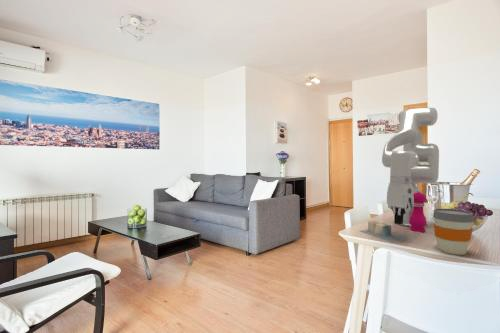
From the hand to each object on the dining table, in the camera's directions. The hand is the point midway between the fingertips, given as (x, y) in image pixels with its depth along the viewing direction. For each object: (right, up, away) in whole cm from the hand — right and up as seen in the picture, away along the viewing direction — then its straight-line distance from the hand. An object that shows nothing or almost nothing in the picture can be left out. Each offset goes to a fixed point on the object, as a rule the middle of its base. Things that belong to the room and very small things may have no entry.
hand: (398, 223), depth 120 cm
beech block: (-2, -4, +6) cm, 8 cm away
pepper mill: (+18, -7, +16) cm, 25 cm away
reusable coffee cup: (+14, -8, -12) cm, 20 cm away
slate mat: (-2, -7, +7) cm, 10 cm away
